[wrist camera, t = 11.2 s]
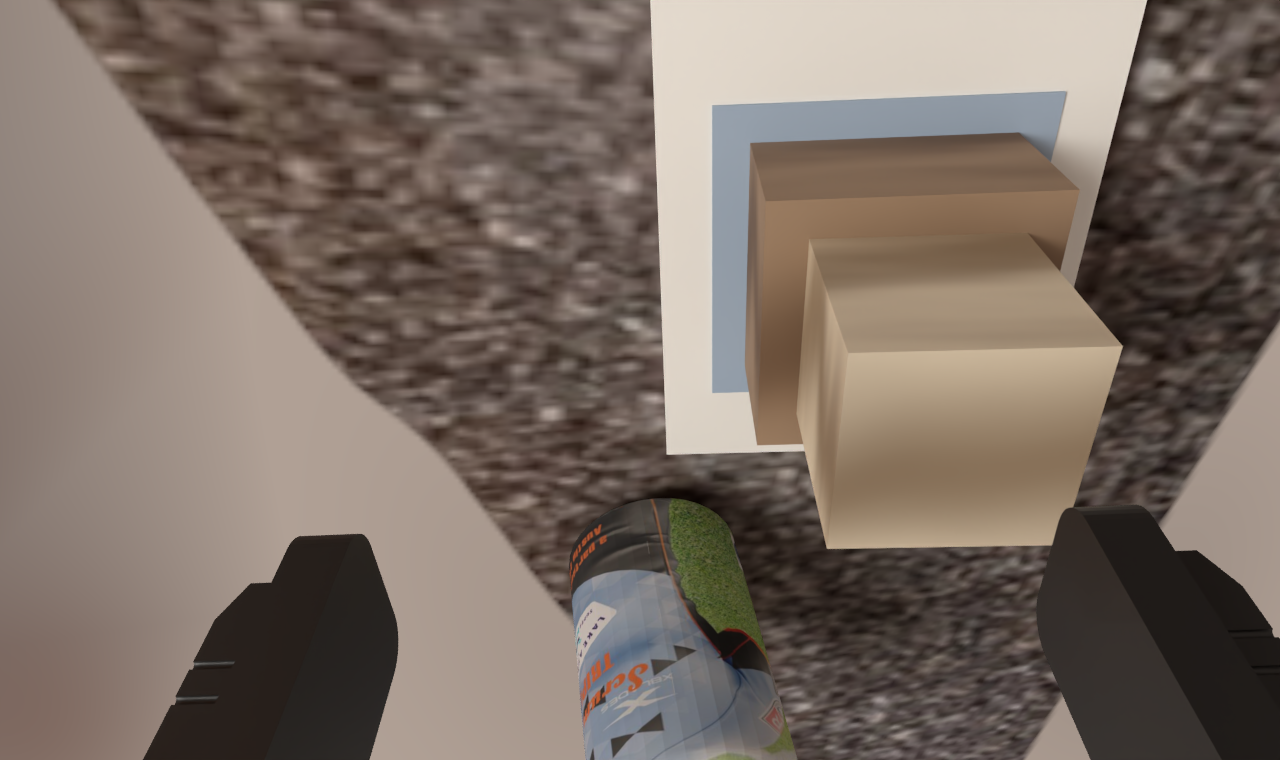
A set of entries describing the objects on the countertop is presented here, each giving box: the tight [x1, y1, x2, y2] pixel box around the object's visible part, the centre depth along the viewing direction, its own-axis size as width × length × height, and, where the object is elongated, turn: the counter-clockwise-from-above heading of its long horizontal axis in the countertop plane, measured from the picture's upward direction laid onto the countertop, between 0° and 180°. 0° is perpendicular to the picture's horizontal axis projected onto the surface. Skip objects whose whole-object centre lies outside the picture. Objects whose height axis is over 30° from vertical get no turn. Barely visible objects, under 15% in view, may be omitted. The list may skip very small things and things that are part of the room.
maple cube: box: [796, 233, 1123, 549], centre depth 20 cm, size 5×5×5 cm
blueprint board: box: [650, 0, 1147, 455], centre depth 25 cm, size 16×12×1 cm
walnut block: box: [745, 132, 1080, 445], centre depth 23 cm, size 7×7×4 cm
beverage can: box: [569, 498, 797, 760], centre depth 28 cm, size 6×7×12 cm
